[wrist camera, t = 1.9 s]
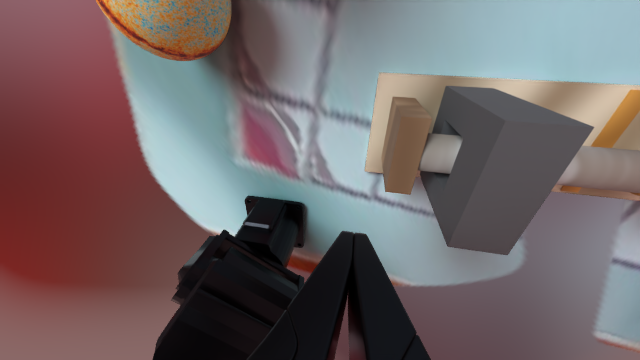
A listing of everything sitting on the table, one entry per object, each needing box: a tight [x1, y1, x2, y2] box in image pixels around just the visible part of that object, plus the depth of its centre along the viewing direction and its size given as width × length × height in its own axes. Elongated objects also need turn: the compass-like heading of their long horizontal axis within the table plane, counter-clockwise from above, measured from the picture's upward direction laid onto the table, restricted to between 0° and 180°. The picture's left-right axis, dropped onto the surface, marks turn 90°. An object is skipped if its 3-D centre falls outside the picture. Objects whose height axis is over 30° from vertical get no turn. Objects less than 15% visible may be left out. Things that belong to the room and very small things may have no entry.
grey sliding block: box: [420, 86, 594, 255], centre depth 14 cm, size 3×7×8 cm, turn 178°
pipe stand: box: [365, 72, 640, 201], centre depth 15 cm, size 22×8×6 cm, turn 88°
